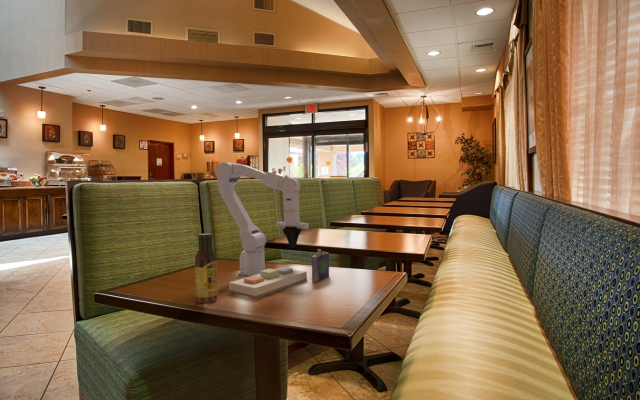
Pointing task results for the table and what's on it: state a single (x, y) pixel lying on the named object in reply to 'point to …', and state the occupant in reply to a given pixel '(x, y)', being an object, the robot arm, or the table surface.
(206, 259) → the sauce bottle
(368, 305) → the table surface
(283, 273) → the slate key
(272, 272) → the sage key
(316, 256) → the flask
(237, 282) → the keypad base
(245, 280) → the terracotta key
